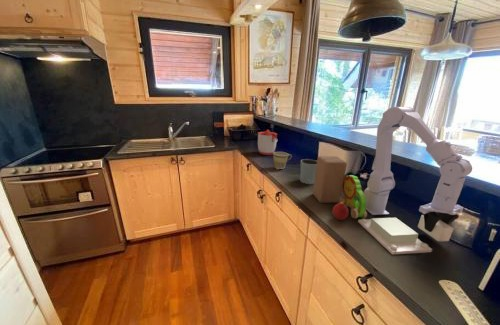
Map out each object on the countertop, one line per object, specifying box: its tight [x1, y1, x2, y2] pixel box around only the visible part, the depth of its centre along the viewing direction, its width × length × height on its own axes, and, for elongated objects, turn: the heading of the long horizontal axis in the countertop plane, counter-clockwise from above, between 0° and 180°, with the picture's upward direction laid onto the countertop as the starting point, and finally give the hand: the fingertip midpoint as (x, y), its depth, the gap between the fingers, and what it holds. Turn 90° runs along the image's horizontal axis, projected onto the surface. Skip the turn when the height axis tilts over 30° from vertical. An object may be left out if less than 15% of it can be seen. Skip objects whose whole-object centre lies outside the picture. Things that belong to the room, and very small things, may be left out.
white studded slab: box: [357, 217, 433, 255], centre depth 76 cm, size 18×14×4 cm
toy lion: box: [338, 174, 368, 219], centre depth 90 cm, size 16×5×15 cm, turn 5°
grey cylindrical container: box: [299, 158, 317, 185], centre depth 120 cm, size 10×10×12 cm
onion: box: [332, 202, 349, 221], centre depth 84 cm, size 6×6×8 cm
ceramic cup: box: [272, 151, 293, 170], centre depth 141 cm, size 13×10×10 cm
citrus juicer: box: [257, 129, 278, 156], centre depth 172 cm, size 16×17×20 cm
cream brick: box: [417, 214, 454, 242], centre depth 74 cm, size 8×4×5 cm, turn 7°
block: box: [312, 155, 347, 204], centre depth 99 cm, size 10×10×20 cm
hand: (433, 229), depth 74 cm, fingers closed on cream brick, 4 cm apart
